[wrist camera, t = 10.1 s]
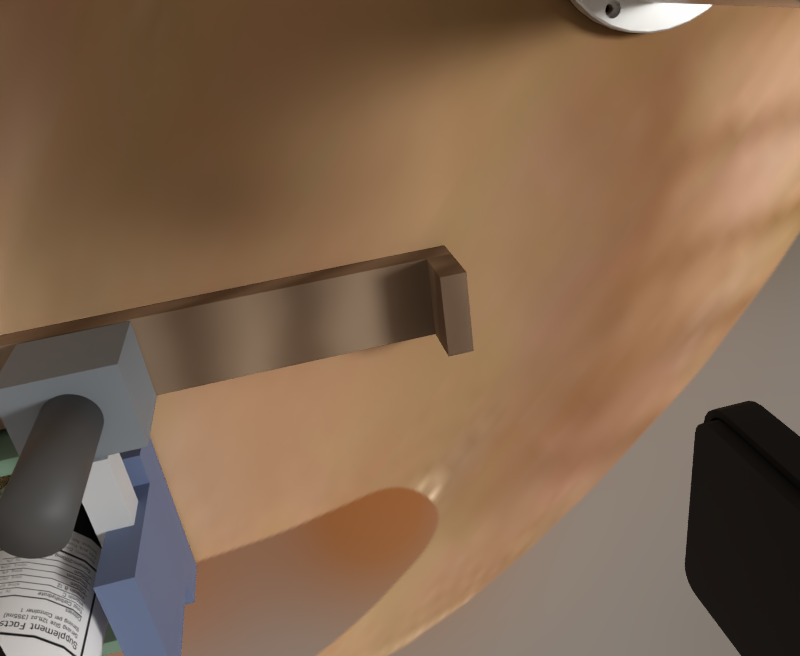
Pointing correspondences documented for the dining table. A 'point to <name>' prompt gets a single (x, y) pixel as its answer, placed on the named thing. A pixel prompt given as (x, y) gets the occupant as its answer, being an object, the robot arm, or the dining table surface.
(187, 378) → the rail
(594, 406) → the dining table surface
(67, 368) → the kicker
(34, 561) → the supplement can
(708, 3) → the robot arm
